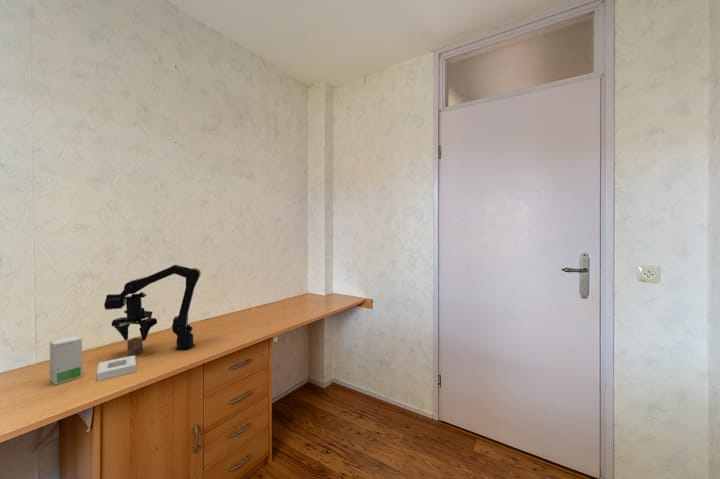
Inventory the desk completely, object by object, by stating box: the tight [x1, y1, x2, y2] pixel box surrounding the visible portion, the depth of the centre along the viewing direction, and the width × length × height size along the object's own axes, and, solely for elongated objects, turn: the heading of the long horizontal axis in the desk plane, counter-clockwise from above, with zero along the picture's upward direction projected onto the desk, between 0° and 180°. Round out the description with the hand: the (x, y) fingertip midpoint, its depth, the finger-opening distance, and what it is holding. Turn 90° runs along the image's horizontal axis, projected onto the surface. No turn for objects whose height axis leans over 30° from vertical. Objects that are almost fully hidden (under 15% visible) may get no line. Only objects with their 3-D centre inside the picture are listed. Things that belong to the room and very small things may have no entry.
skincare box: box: [49, 335, 83, 386], centre depth 118 cm, size 8×7×16 cm
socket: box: [96, 355, 137, 382], centre depth 124 cm, size 12×12×3 cm
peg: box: [126, 337, 144, 357], centre depth 141 cm, size 4×4×7 cm
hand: (135, 340), depth 141 cm, fingers open, 9 cm apart
